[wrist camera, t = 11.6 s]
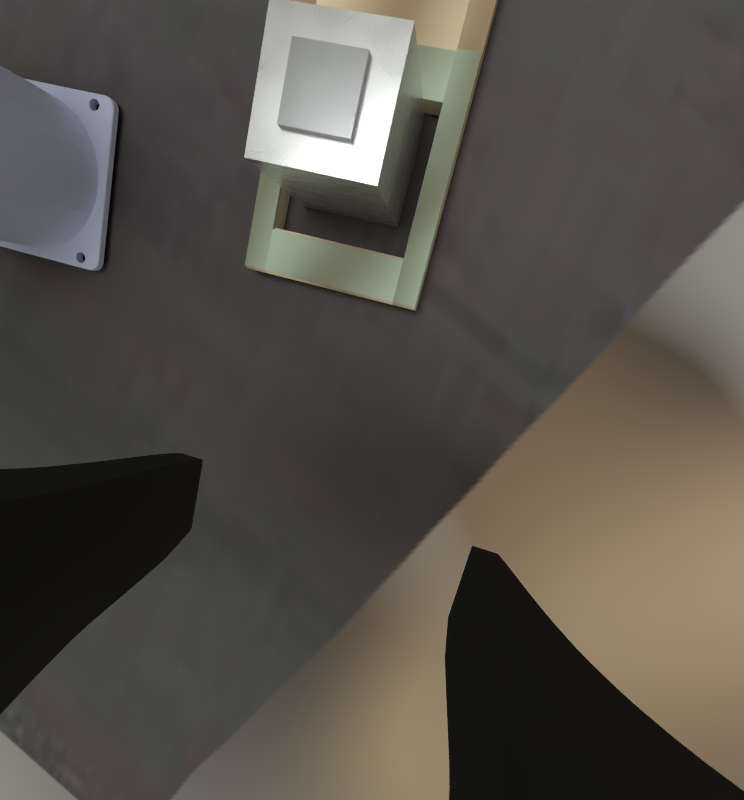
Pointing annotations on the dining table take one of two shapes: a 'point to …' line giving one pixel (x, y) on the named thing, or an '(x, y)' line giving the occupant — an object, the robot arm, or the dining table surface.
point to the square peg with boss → (338, 109)
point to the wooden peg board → (450, 100)
